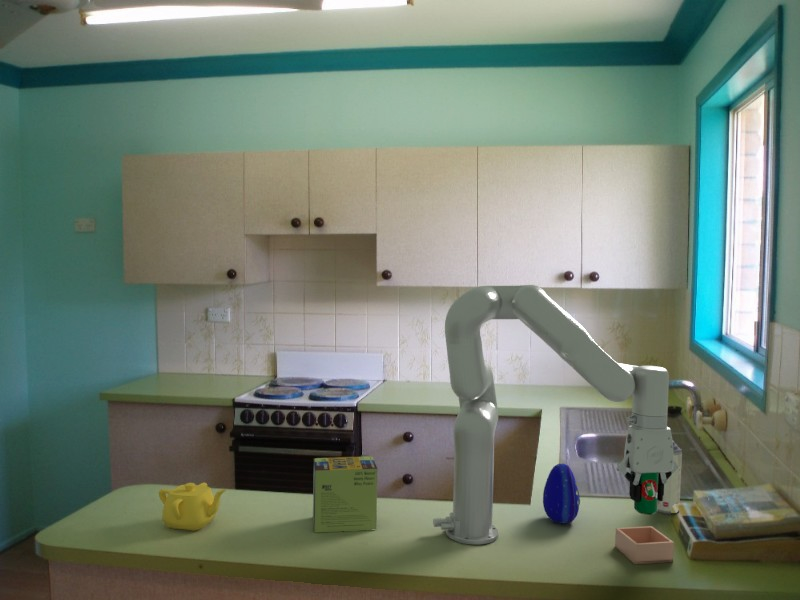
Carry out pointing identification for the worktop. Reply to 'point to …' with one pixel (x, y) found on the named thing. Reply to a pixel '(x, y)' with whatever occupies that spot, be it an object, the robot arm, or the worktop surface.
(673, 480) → the aerosol can
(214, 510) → the teapot
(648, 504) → the soda can
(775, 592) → the worktop surface
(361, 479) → the protein box
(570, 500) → the ornament
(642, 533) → the box
